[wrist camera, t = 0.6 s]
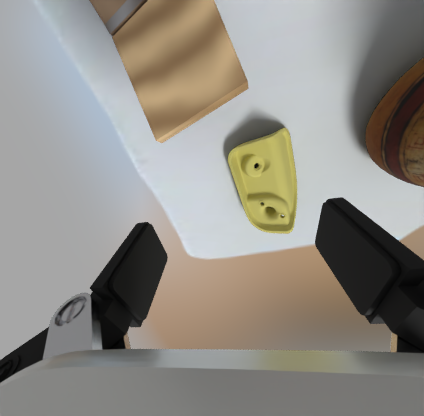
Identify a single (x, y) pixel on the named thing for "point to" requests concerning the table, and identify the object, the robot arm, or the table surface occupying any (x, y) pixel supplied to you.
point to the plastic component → (267, 181)
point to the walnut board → (116, 12)
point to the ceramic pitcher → (400, 128)
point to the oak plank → (179, 62)
